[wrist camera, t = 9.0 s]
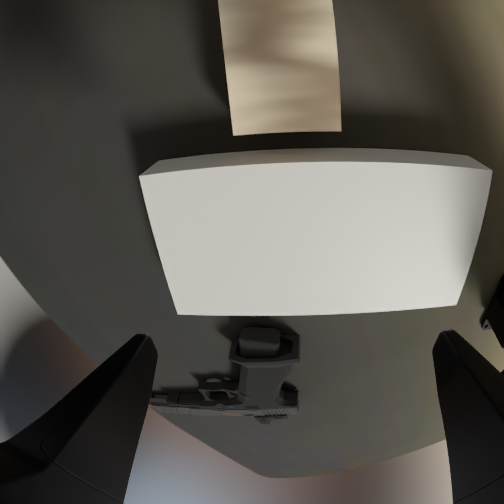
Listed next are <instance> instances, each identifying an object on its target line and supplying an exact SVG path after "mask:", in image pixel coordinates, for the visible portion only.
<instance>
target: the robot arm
mask: <svg viewBox="0 0 504 504" xmlns="http://www.w3.org/2000/svg"><path fill="white" fill-rule="evenodd" d="M481 327H482V329H483V330H487V329H493V331H494V333H495V335H496V337H497V339H498V341H499V343H500V345H501V347H502V348H504V275H503V277H502V278H501V280H500V283H499V286H498V288H497V290H496V293H495V295H494V297H493V300H492V302H491V304H490V307H489V309H488V311H487V313H486V315H485V317H484V319H483V321H482V323H481ZM432 354H433V361H434V368H435V376H436V384H437V392H438V398H439V403H440V408H441V413H442V418H443V424H444V430H445V436H446V441H447V448H448V456H449V464H450V472H451V482H452V494H453V504H504V370H503V371H502V372H501V373H500V372H499V371H498V370H497V369H496V368H495V367H494V366H493V365H492V364H491V363H490V362H489V361H488V360H486V359H485V358H484V357H483V356H482V355H481V354H480V353H479V352H478V351H477V350H476V349H475V348H474V347H472V346H471V345H470V344H469V343H468V342H467V341H466V340H465V339H464V338H463V337H461V336H460V335H459V334H458V333H457V332H456V331H455V330H453V329H448V330H442V331H441V332H440V334H439V336H438V338H437V340H436V342H435V345H434V347H433V351H432ZM157 358H158V353H157V350H156V348H155V345H154V343H153V341H152V339H151V337H150V336H149V335H148V334H136V335H135V336H133V337H132V338H131V339H130V340H129V341H128V342H126V343H125V344H124V345H123V346H122V347H121V348H119V349H118V350H117V351H116V352H115V353H114V354H113V355H111V356H110V357H109V358H108V359H107V360H106V361H104V362H103V363H102V364H101V365H100V366H99V367H97V368H96V369H95V370H94V371H93V372H92V373H91V374H89V375H88V376H87V377H86V378H85V379H84V380H83V381H81V382H80V383H79V384H78V385H77V386H76V387H74V388H73V389H72V390H71V391H70V392H69V393H68V394H66V396H64V397H63V398H62V400H60V401H58V402H57V403H56V404H55V405H54V406H53V407H51V408H50V409H49V410H48V411H47V412H46V413H44V414H43V415H42V416H41V417H39V418H38V419H37V420H35V421H34V422H33V423H31V424H30V425H28V426H27V427H26V428H24V429H23V430H21V431H20V432H19V433H17V434H16V435H14V436H13V437H12V438H10V439H9V440H7V441H5V442H2V443H0V504H123V502H124V498H125V494H126V489H127V485H128V480H129V477H130V473H131V469H132V465H133V460H134V457H135V453H136V449H137V445H138V441H139V438H140V434H141V430H142V426H143V423H144V419H145V416H146V412H147V408H148V405H149V401H150V397H151V392H152V386H153V380H154V375H155V369H156V364H157Z"/></svg>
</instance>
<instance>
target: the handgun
mask: <svg viewBox="0 0 504 504" xmlns="http://www.w3.org/2000/svg"><path fill="white" fill-rule="evenodd" d="M229 360H230V361H232V362H235V363H238V364H241V372H240V381H239V382H238V383H232V382H226V381H223V382H200V384H199V387H198V390H199V391H200V392H201V393H185V392H182V393H180V392H169V394H168V395H157V394H151V397H150V401H149V405H148V406H149V407H154V408H155V409H156V410H157V411H159V412H166V413H167V412H169V413H177V414H179V413H180V414H190V415H206V416H223V415H242V416H254V417H255V418H256V420H257V421H258V422H260V423H261V424H270V421H271V420H272V419H287V418H288V415H290V414H291V415H297V414H298V409H299V400H298V390H283V389H281V385H282V384H283V382H284V381H285V379H286V378H287V376H288V374H289V373H290V371H291V367H292V364H293V363H297V362H300V336H299V335H281V336H280V331H279V330H278V329H276V328H259V327H247V328H241V332H240V337H239V340H236V341H234V342H232V346H231V350H230V354H229ZM212 391H225V392H212Z"/></svg>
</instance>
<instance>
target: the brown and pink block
mask: <svg viewBox="0 0 504 504" xmlns="http://www.w3.org/2000/svg"><path fill="white" fill-rule="evenodd" d="M218 5H219V14H220V23H221V32H222V41H223V50H224V59H225V68H226V77H227V85H228V94H229V103H230V112H231V120H232V129H233V136H236V135H248V134H262V133H280V132H310V131H341V104H340V83H339V67H338V54H337V42H336V32H335V22H334V13H333V5H332V0H218Z"/></svg>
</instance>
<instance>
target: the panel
mask: <svg viewBox="0 0 504 504" xmlns="http://www.w3.org/2000/svg"><path fill="white" fill-rule="evenodd" d="M492 172H493V171H492V170H491V169H489V168H488V167H486V166H485V165H483V164H481V163H480V162H478V161H476V160H475V159H473V158H471V157H470V156H467V155H459V154H449V153H439V152H428V151H414V150H398V149H374V148H298V149H274V150H256V151H242V152H230V153H218V154H208V155H199V156H190V157H182V158H174V159H166V160H159V161H158V162H156V163H155V164H154V165H152V166H151V167H150V168H149V169H147V170H146V171H145V172H143V173H142V174H141V175H140V176H139V179H140V183H141V187H142V192H143V196H144V200H145V204H146V208H147V212H148V216H149V220H150V223H151V227H152V231H153V234H154V238H155V242H156V245H157V249H158V252H159V256H160V259H161V263H162V266H163V269H164V273H165V276H166V279H167V282H168V286H169V289H170V292H171V295H172V298H173V301H174V304H175V307H176V310H177V313H178V314H181V315H218V316H289V315H326V314H349V313H368V312H383V311H397V310H410V309H421V308H432V307H442V306H452V305H456V304H457V302H458V299H459V297H460V294H461V291H462V288H463V286H464V283H465V280H466V277H467V274H468V271H469V268H470V265H471V262H472V259H473V255H474V252H475V248H476V245H477V241H478V238H479V234H480V230H481V226H482V222H483V218H484V214H485V209H486V204H487V200H488V195H489V189H490V184H491V178H492Z"/></svg>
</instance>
